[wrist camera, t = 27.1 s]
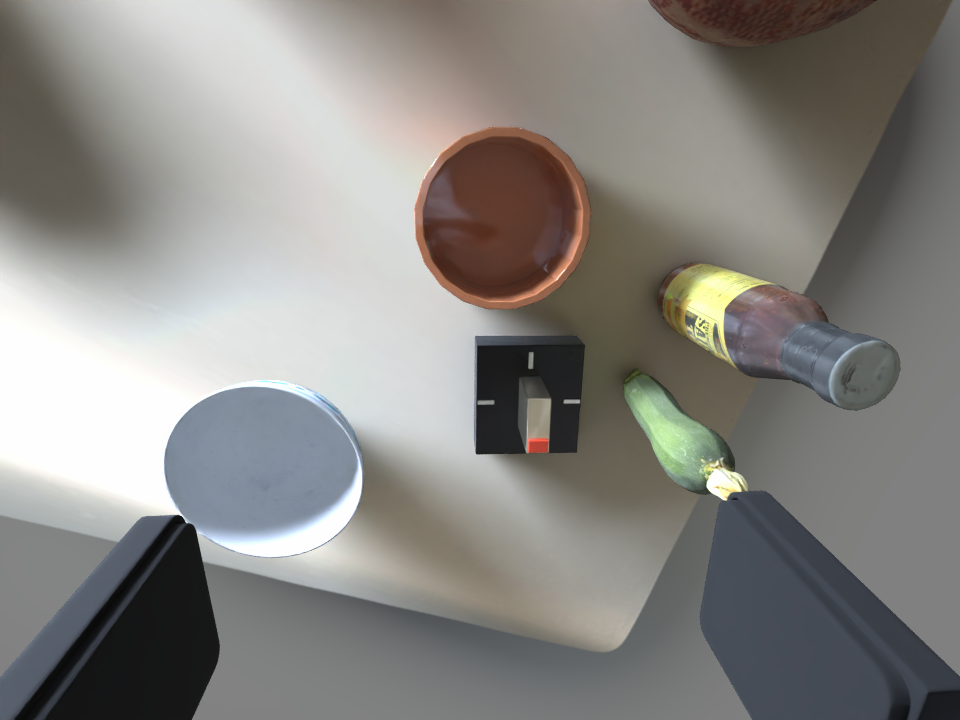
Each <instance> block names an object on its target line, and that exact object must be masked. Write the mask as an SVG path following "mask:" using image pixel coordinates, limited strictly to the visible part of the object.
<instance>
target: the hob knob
mask: <svg viewBox="0 0 960 720" xmlns="http://www.w3.org/2000/svg"><path fill="white" fill-rule="evenodd" d="M551 402H552V399H551V397H550V395H549V393H548V391H547V389H546V387H545V385H544V383H543V381H542V379H541V377H540V376H537V377H520V378H519V409H518V428H519V431H520V434H521V437H522V441H523V444H524V447H525V451H526V453H549V442H550V422H551Z"/></svg>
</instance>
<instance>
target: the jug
mask: <svg viewBox="0 0 960 720" xmlns="http://www.w3.org/2000/svg"><path fill="white" fill-rule="evenodd" d="M648 1H649V3H650V4H651V6H652V7H653V8H654V9H655V10H656V11H657V12H658V13H659V14H660V15H661V16H662V17H663V18H664V19H665V20H666V21H667V22H669V23H670V24H671V25H672V26H674V27H675V28H677V29H678V30H680V31H681V32H683V33H685V34H686V35H688V36H690V37H691V38H693V39H696V40H699V41H702V42H706V43H710V44H714V45H718V46H722V47H747V46H759V45H764V44H769V43H774V42H779V41H783V40H787V39H790V38H794V37H798V36H802V35H806V34H809V33H812V32H815V31H818V30H821V29H825V28H828V27H830V26H832V25H834V24H836V23H838V22H840V21H842V20H844V19H847V18H849V17H851V16H853V15H855V14H857V13H858V12H860V11H861V10H863V9H864V8H866V7H867V6H869V5H870V4H872V3H873V2H875V1H876V0H648Z"/></svg>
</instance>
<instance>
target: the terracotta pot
mask: <svg viewBox="0 0 960 720" xmlns="http://www.w3.org/2000/svg"><path fill="white" fill-rule="evenodd" d="M590 209H591V207H590V203H589V198H588V194H587V190H586V186H585V182H584V180H583V178H582V176H581V175H580V173H579V171H578V170H577V168H576V166H575V165H574V163H573V161H572V160H571V158H570V157H569V156H568V155H567V154H566V153H565V152H564V151H562V150H561V149H560V148H559V147H558V146H556V145H555V144H554V143H553V142H552V141H551V140H549V139H548V138H546V137H544V136H541V135H539V134H536V133H533V132H531V131H528V130H525V129H523V128H517V127H489V128H486V129H483V130H480V131H477V132H474V133H471V134H468V135H465V136H463V137H461V138H460V139H459V140H458V141H456V142H455V143H454V144H452V145H451V146H450V147H448V148H447V149H446V150H444V151H443V152H442V153H441V154H440V155H439V156H438V157H437V159H436V160H435V162H434V163H433V165H432V166H431V168H430V169H429V170H428V172H427V173H426V175H425V176H424V178H423V180H422V183H421V187H420V190H419V193H418V197H417V200H416V204H415V208H414V211H415V236H416V237H415V238H416V241H417V244H418V246H419V249H420V252H421V255H422V258H423V261H424V263H425V265H426V266H427V268H428V269H429V270H430V272H431V273H432V274H433V276H434V277H435V278H436V280H437V281H438V282H439V284H440V285H441V286H442V287H444V288H445V289H446V290H448V291H449V292H450V293H452V294H453V295H455V296H456V297H457V298H459V299H460V300H462V301H464V302H467V303H470V304H473V305H476V306H479V307H482V308H485V309H517V308H520V307H523V306H526V305H529V304H533V303H536V302H539V301H541V300H542V299H544V298H545V297H547V296H548V295H549V294H551V293H552V292H554V291H555V290H557V289H558V288H559V287H561V286H562V285H563V284H564V282H565V281H566V280H567V278H568V277H569V276H570V275H571V273H572V272H573V271H574V269H575V268H576V267H577V266H578V264H579V262H580V260H581V257H582V254H583V252H584V249H585V247H586V244H587V242H588V239H589V231H590V217H591V210H590Z"/></svg>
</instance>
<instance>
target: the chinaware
mask: <svg viewBox="0 0 960 720" xmlns="http://www.w3.org/2000/svg"><path fill="white" fill-rule="evenodd" d="M163 474H164V479H165V484H166V487H167V490H168V493H169V495H170V497H171V499H172V501H173V503H174V505H175V507H176V508H177V510H178V511H179V513H180V514H181V515H182V516H183V518H184V519H185V520H186V521H187V522H188V523H191V524H193V525H194V527H195V529H196V531H198V532H199V533H200V534H201V535H203V536H204V537H206V538H207V539H209V540H210V541H212V542H214V543H216V544H218V545H220V546H222V547H224V548H226V549H229V550H231V551H234V552H237V553H241V554H245V555H250V556H255V557H265V558H278V557H288V556H294V555H298V554H302V553H305V552H308V551H311V550H314V549H316V548H318V547H320V546H322V545H324V544H325V543H327V542H329V541H330V540H331V539H333V538H334V537H335V536H337V535H338V534H339V533H340V532H341V531H342V530H343V529H344V528H345V527H346V526H347V524H348V523H349V522H350V520H351V519H352V517H353V516H354V514H355V512H356V510H357V508H358V506H359V503H360V500H361V497H362V492H363V486H364V466H363V458H362V453H361V449H360V446H359V443H358V440H357V438H356V435H355V433H354V431H353V429H352V427H351V426H350V424H349V422H348V421H347V419H346V418H345V417H344V416H343V414H342V413H341V412H340V411H339V410H338V409H337V408H336V407H335V406H334V405H333V404H332V403H331V402H329V401H328V400H327V399H326V398H324V397H323V396H321V395H319V394H318V393H316V392H314V391H312V390H310V389H308V388H305V387H303V386H300V385H296V384H293V383H288V382H283V381H273V380H259V381H250V382H244V383H239V384H235V385H231V386H228V387H225V388H222V389H220V390H217V391H215V392H213V393H211V394H209V395H207V396H205V397H203V398H201V399H200V400H198V401H197V402H195V403H194V404H193V405H192V406H190V407H189V408H188V409H187V410H186V411H185V412H184V413H183V414H182V415H181V416H180V418H179V419H178V420H177V421H176V423H175V424H174V426H173V428H172V429H171V431H170V433H169V436H168V438H167V441H166V444H165V448H164V454H163Z"/></svg>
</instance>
